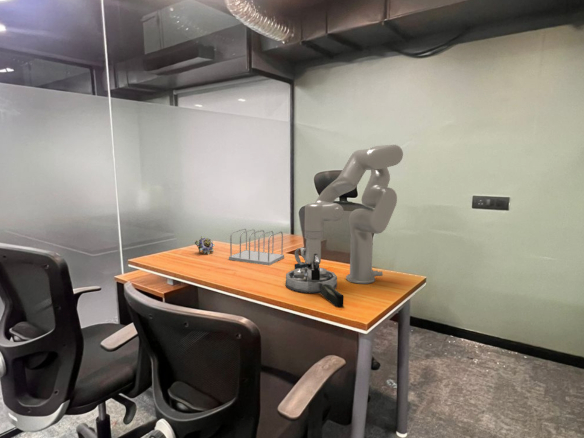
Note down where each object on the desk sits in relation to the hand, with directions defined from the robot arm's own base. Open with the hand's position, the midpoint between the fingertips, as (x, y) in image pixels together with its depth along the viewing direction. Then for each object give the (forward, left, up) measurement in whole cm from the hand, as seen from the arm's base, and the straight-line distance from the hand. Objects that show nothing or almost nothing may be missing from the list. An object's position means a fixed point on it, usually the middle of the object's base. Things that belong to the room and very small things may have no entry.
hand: (313, 276), depth 141 cm
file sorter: (+23, -51, -6) cm, 56 cm away
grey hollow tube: (0, 0, -4) cm, 4 cm away
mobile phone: (-4, +13, -6) cm, 15 cm away
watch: (+1, -27, -6) cm, 28 cm away
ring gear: (0, -5, -4) cm, 7 cm away
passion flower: (+53, -67, -6) cm, 86 cm away
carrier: (0, -5, -6) cm, 8 cm away
